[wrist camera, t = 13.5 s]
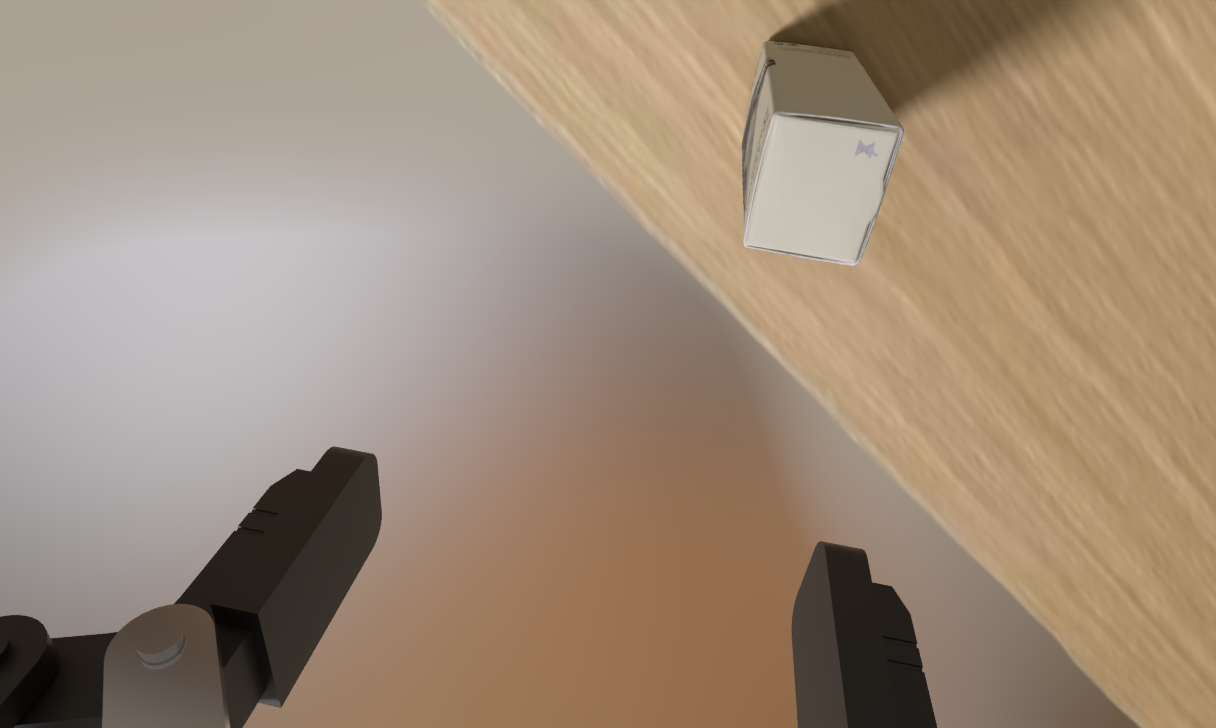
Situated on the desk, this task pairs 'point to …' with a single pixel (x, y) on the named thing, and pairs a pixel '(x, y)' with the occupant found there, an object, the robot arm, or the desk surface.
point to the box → (815, 154)
